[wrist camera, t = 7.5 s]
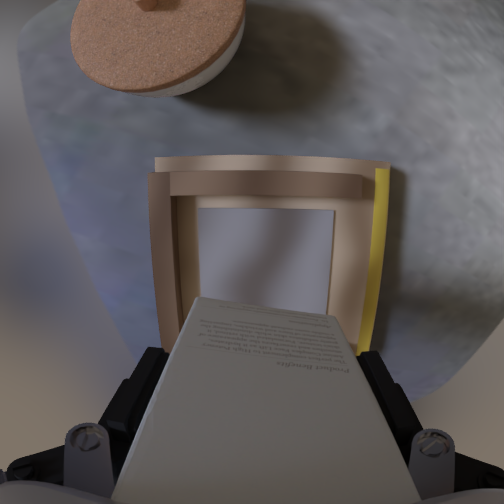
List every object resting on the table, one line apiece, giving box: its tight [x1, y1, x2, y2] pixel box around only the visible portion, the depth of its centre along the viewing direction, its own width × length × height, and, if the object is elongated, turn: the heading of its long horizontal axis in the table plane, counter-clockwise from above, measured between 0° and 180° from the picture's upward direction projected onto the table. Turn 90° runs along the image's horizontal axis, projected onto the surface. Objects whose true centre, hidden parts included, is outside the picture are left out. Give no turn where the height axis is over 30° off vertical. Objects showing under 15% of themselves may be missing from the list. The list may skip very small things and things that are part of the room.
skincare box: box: [111, 297, 421, 504], centre depth 8 cm, size 6×4×12 cm
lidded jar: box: [71, 0, 246, 98], centre depth 16 cm, size 11×11×9 cm
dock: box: [148, 155, 391, 357], centre depth 23 cm, size 16×16×4 cm
